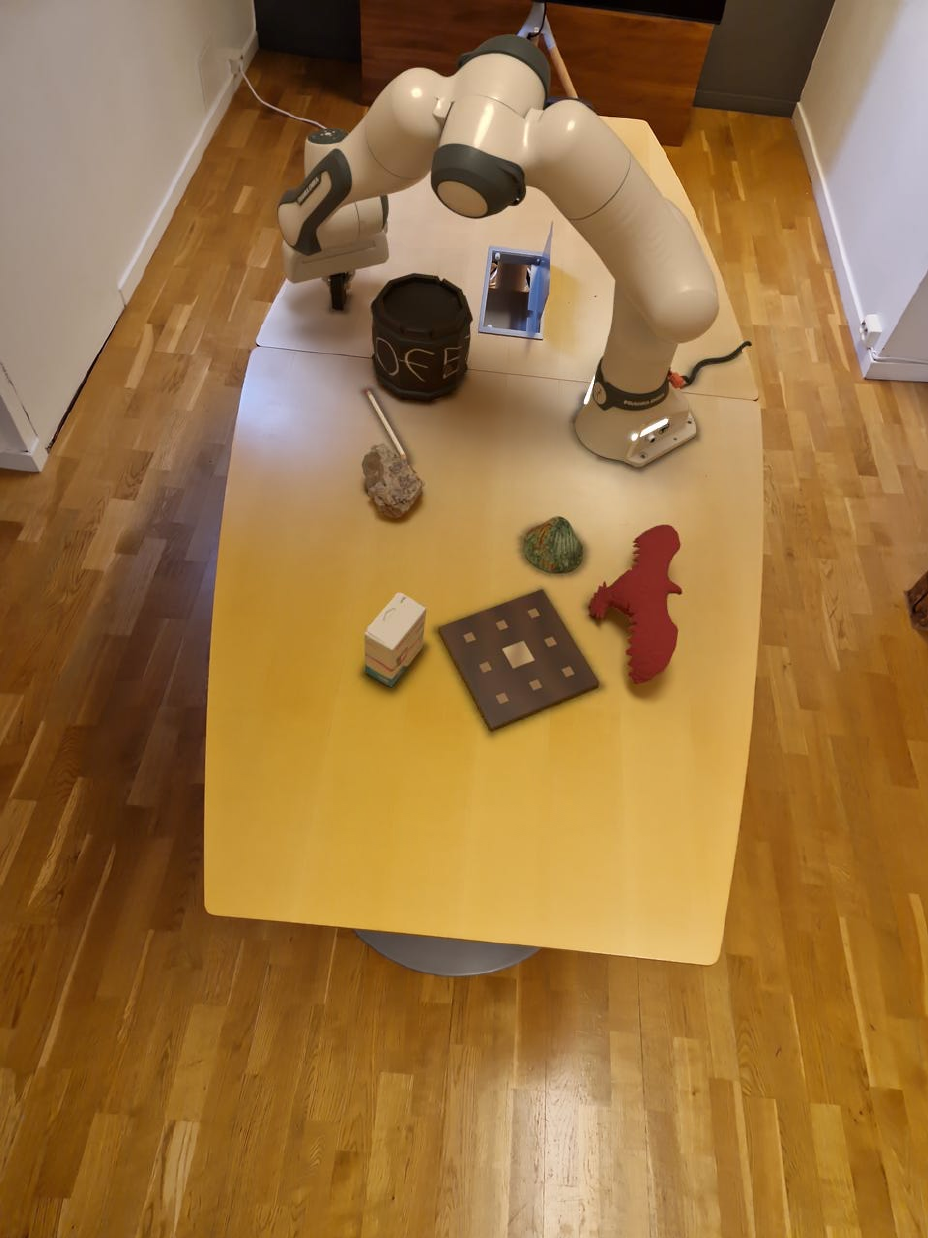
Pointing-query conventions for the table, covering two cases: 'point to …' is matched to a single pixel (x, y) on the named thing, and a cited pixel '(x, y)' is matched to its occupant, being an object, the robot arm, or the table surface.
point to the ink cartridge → (338, 291)
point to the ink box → (394, 639)
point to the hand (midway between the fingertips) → (338, 289)
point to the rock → (391, 481)
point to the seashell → (553, 546)
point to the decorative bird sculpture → (645, 602)
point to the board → (517, 659)
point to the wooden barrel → (420, 337)
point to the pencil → (385, 423)
